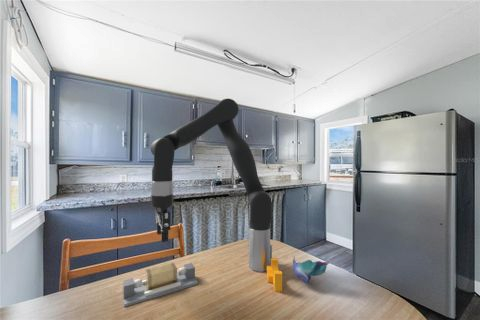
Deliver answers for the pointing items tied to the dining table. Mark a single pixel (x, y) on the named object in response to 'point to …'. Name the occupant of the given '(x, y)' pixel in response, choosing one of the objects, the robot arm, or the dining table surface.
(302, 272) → the figurine
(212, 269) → the dining table surface
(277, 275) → the pipe clamp
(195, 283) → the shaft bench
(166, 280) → the tan tapered block
